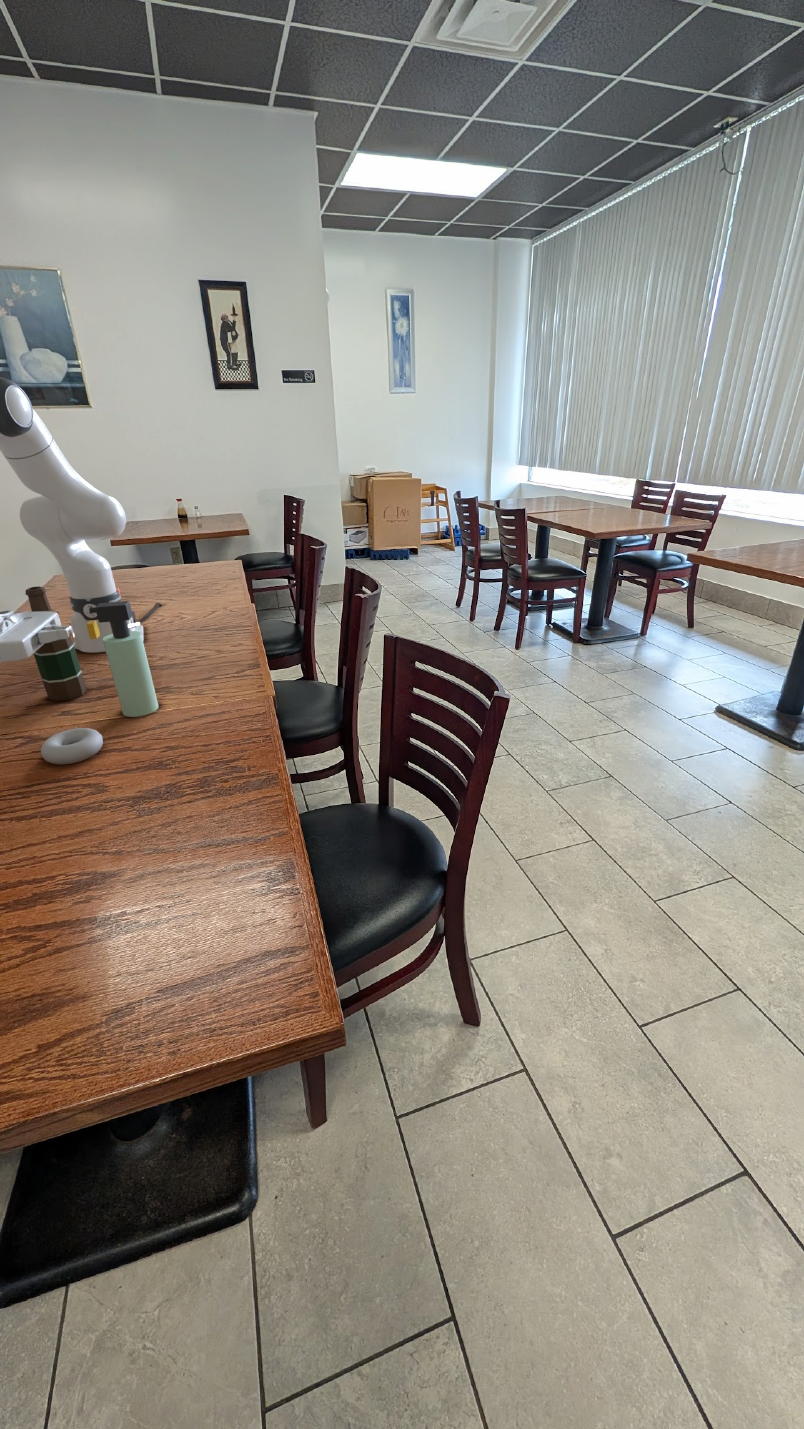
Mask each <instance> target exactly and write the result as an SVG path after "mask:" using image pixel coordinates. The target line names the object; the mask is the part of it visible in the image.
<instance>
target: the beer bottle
mask: <svg viewBox="0 0 804 1429" xmlns="http://www.w3.org/2000/svg"><path fill="white" fill-rule="evenodd" d="M46 593H47V590H46V588H45V587H44V586H39V585H37V586H32V587H31V586H30V587H28V588H27V589H25V595H26V596H27V598H28V602H29V606H30V610H31V612H43V611H49V612H53V610H52V607H51V605H50V602H49V599H48V596H47V594H46ZM73 642H74V641H73V640H72V638H71V636H70V637H69V638H67V639H59V640H56V641H52V642H49V643H45V644H44V645H42V646H41V647H40V648H39V649H38V650H37V651H36V652H35V653H34V654H33V657H34V660H35V663H36V666H37V669H38V672H39V674H40V678H41V681H42V684H43V687H44V690H45V693H46V695H47V698H48V699H50V700H52V701H54V702H62V701H71V700H74V699H76V698H79V697H81V696H83V694H84V693H85V692H86V691H87V687H86V683H85V679H84V674H83V672H82V671H83V670H82V669H81V665H80V661H79V659H78V655H77V652H76V649H75V648H74V645H73Z"/></svg>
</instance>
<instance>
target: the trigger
mask: <svg viewBox="0 0 804 1429" xmlns="http://www.w3.org/2000/svg"><path fill="white" fill-rule="evenodd" d="M86 625H87V629H88V632H89V636H90V639H97V638H98V637H99V636H100V633H99V629H98V625H97V622H96V620H95V621H89V622H88V623H87V624H86Z"/></svg>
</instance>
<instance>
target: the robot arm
mask: <svg viewBox="0 0 804 1429" xmlns="http://www.w3.org/2000/svg"><path fill="white" fill-rule="evenodd" d="M0 453H1V454H2V455H3V457H4V459H5V460H6V461H7V463H8V464H9V465H10V467H11V469H12V470H13V471H14V473H15V474H16V476H17V477H18V479H19V480H20V482H21V483H22V484H23V486H25V487H26V488H27V489H28V490H30V491H32V492H33V493H36V494H38V495H40V496H35V497H32V498H29V499H26V500H24V501H23V503H22V504H21V505H20V509H19V520H20V523H21V525H22V527H23V529H24V531H25V532H26V533H27V534H28V535H29V536H30V537H32V538H34V539H35V540H36V541H38V542H40V543H41V544H42V545H43V546H44V547H46V548H47V550H48V551H49V552H50V553H51V555H53V557H54V558H55V560H56V561H57V563H58V564H59V566H60V569H61V570H62V573H63V576H64V579H65V581H66V585H67V588H68V592H69V594H70V597H69V603H70V606H71V608H72V609H71V610H72V611H73V614H72V615H71V617H70V618H69V621H70V625H68V624H67V625H62V622H61V618H60V616H59V614H58V613H57V612H55V611H52V612H49V611H43V612H32V611H21V612H15V611H14V610H11V609H9V610H2V611H0V663H5V662H6V663H7V662H20V661H25V660H27V659H29V658H30V657H31V656H32V655H34V653H35V652H36V651H37V650H38V649H39V648H40V647H41V646H42V645H44V644H45V643H49V642H52V641H56V640H59V639H67V638H69V637H71V636H73V641H72V642H73V645H74V648H75V650H78V651H81V652H82V653H93V654H94V653H106V650H105V646H104V643H103V638H104V637H105V636H107V635H110V634H113V633H112V629H111V625H110V622H102V623H99V620H98V617H97V613H90V611H89V608H94V607H96V606H97V605H98V604H99V603H108V602H121V601H123V600H122V597H121V590H120V589H119V587H116V583H115V579H114V575H113V571H112V567H111V564H110V563H109V561H108V560H107V559H106V558H105V557H103V556H102V555H100V554H97V553H96V552H94V551H93V550H92V549H91V548H90V547H89V545H88V544H87V543H86V541H103V540H104V541H105V540H108V539H109V540H110V539H113V538H117V537H120V536H121V535H122V534H123V532H124V531H125V529H126V525H127V516H126V512H125V510H124V508H123V506H122V504H121V503H120V502H119V501H118V500H117V499H116V498H115V497H113V496H110V495H108V494H106V493H104V492H102V491H100V490H99V489H98V488H96V487H95V486H93V485H92V484H90V483H89V482H88V481H87V480H85V479H84V478H83V477H82V476H81V475H80V474H79V473H78V472H77V471H76V470H75V469H74V468H73V467H72V465H71V464H70V462H69V461H68V459H67V458H66V456H65V455H64V454H63V452H62V450H61V449H60V447H59V446H58V444H57V443H56V441H55V439H54V437H53V435H52V434H51V432H50V431H49V429H48V427H47V425H46V424H45V423H44V422H43V420H42V418H41V417H40V416H39V415H38V413H37V412H36V410H34V408H33V405H32V402H31V400H30V398H29V397H28V395H27V394H26V392H25V391H24V390H23V389H22V388H21V387H20V386H19V385H18V384H17V383H16V382H14V381H13V380H10V379H8V378H4V377H0ZM157 607H163V604H162V603H160V602H156V603H155V604H154V606H153V607H152V608H151V609H150V610H149V611H148V612H147V613H146V614H145V615H144V616H143V617H142V618H141V619H140V620H139V621H136V619H137V617H136V613H135V610H132V614H133V616H132V617H131V619H130V620H127V624H128V628H129V631H138V632H140V633H141V635H142V639H143V642H144V640H145V639H144V637H145V636H144V634H145V633H144V626H143V624H141V623H142V622H144V621H145V620H146V619H147V618H148V617H150V616H151V615H152V613H153V612H154V611H155V610H156V609H157ZM95 620H96V622H97V625H98V629H99V633H100V636H99V637H98V638H97V639H90V636H89V632H88V629H87V625H86V624H87V623H88V622H89V621H95Z"/></svg>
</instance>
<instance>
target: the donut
mask: <svg viewBox="0 0 804 1429" xmlns="http://www.w3.org/2000/svg"><path fill="white" fill-rule="evenodd" d="M103 740H104V739H103V736H102V734H101V733H100V732H98V731H97V730H96V729H93V728H89V727H77V728H71V729H65V730H62V731H59V732H58V733H55V734H53V735H51V736H50V737H48V738H47V739H45V741H44V742H43V743H42V745H41V748H40V755H41V757H42V758H43V759H44V760H45V761H46V762H47V763H50V764H53V765H62V766H63V765H72V764H76V763H80V762H82V761H86V760H87V759H89V758H92V757H93V756H95V755H96V754H97V753H98V752H99V751H100V750H101V749H102V747H103V745H104V741H103Z"/></svg>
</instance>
